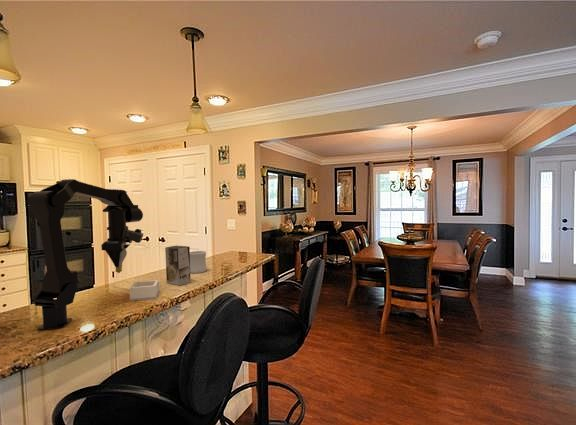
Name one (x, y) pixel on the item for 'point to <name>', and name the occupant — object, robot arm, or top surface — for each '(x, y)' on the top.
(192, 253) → the mug
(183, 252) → the coffee box
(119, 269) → the light bulb
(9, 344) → the top surface
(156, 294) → the white hollow square box
